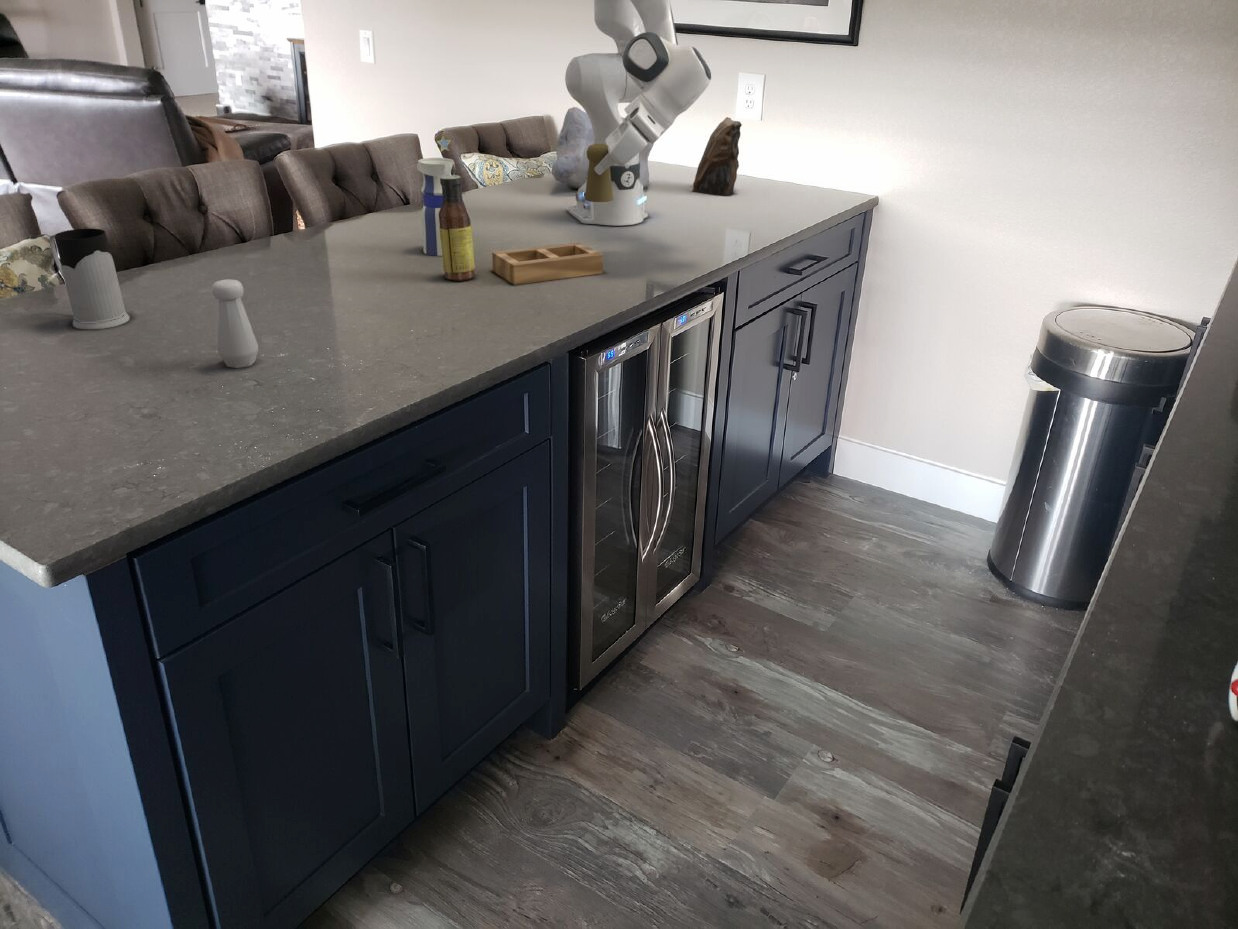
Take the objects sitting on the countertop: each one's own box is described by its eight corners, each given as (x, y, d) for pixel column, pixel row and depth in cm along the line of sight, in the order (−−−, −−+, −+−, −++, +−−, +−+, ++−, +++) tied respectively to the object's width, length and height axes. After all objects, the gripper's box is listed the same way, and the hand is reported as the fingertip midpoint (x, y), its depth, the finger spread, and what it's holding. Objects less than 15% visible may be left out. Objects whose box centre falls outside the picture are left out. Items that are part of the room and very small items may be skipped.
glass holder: (91, 332, 154) (69, 243, 147) (44, 316, 161) (20, 230, 154) (140, 319, 161) (120, 232, 154) (92, 304, 167) (71, 220, 161)
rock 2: (718, 185, 280) (723, 115, 270) (751, 192, 272) (757, 120, 262) (690, 190, 272) (694, 118, 262) (723, 198, 264) (728, 123, 255)
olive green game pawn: (610, 202, 191) (610, 146, 186) (581, 201, 192) (581, 145, 187) (615, 197, 196) (616, 142, 191) (588, 195, 197) (588, 141, 192)
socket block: (492, 271, 193) (492, 251, 191) (578, 260, 201) (578, 242, 200) (514, 285, 184) (513, 265, 182) (602, 273, 193) (603, 254, 191)
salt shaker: (227, 356, 146) (212, 275, 140) (264, 356, 147) (251, 275, 141) (216, 370, 141) (200, 286, 135) (254, 369, 142) (240, 286, 136)
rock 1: (547, 210, 266) (547, 155, 283) (650, 220, 271) (644, 165, 287) (556, 140, 248) (555, 86, 265) (665, 153, 253) (658, 98, 270)
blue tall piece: (468, 249, 208) (462, 131, 196) (446, 257, 201) (439, 136, 189) (438, 244, 211) (430, 128, 199) (415, 252, 204) (406, 133, 192)
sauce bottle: (480, 275, 190) (475, 175, 180) (466, 283, 184) (460, 180, 175) (451, 271, 191) (445, 172, 182) (436, 279, 186) (429, 177, 177)
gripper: (631, 102, 195) (584, 150, 199) (637, 114, 177) (586, 166, 181) (651, 124, 197) (604, 171, 201) (659, 139, 179) (608, 190, 183)
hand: (596, 169), depth 191 cm, fingers closed on olive green game pawn, 4 cm apart
